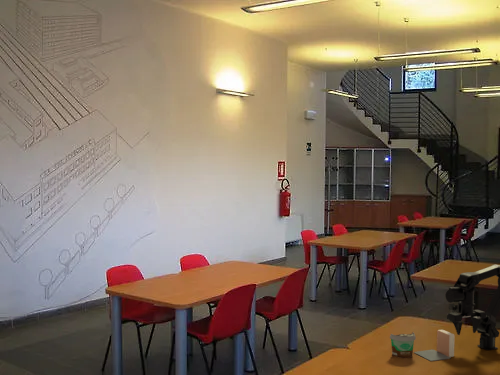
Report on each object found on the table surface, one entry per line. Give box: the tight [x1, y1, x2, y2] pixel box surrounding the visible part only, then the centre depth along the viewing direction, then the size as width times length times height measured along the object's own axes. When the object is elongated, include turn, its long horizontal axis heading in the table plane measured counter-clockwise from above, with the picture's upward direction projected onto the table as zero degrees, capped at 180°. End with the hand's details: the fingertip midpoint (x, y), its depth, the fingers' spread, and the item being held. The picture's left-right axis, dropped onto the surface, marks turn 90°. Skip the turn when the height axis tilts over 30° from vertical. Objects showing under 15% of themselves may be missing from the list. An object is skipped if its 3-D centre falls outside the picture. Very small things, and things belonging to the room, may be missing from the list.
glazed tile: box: [436, 329, 455, 358], centre depth 250 cm, size 3×8×10 cm, turn 21°
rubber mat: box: [413, 349, 451, 362], centre depth 248 cm, size 11×12×1 cm
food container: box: [389, 331, 416, 359], centre depth 246 cm, size 12×6×10 cm, turn 105°
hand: (466, 333), depth 254 cm, fingers open, 9 cm apart
